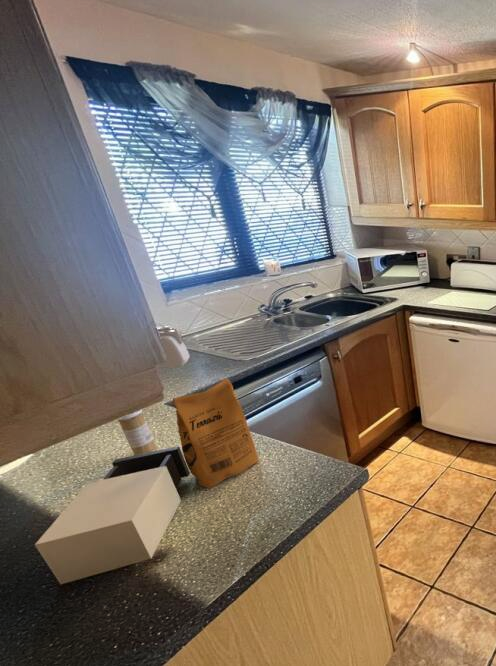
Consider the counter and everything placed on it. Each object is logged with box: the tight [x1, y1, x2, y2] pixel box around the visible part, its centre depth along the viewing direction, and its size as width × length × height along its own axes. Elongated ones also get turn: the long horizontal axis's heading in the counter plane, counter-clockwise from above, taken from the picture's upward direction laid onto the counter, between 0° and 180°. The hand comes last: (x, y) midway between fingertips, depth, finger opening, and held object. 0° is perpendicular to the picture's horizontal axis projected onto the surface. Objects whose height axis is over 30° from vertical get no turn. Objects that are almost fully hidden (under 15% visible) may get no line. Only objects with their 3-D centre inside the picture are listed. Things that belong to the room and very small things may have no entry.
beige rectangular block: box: [34, 466, 182, 585], centre depth 73 cm, size 15×13×10 cm
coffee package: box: [172, 378, 259, 489], centre depth 88 cm, size 10×12×22 cm
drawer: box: [102, 445, 191, 491], centre depth 82 cm, size 18×11×8 cm, turn 22°
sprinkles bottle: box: [117, 409, 158, 456], centre depth 95 cm, size 5×5×13 cm
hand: (141, 389), depth 86 cm, fingers closed
